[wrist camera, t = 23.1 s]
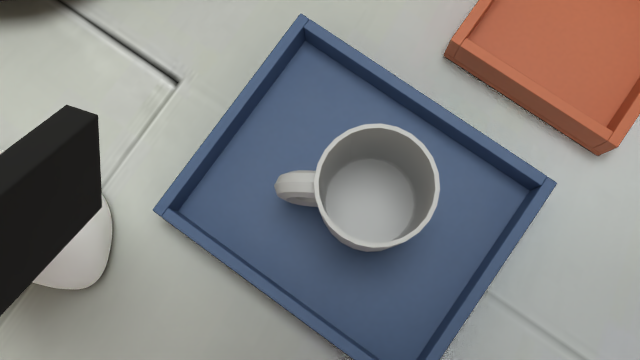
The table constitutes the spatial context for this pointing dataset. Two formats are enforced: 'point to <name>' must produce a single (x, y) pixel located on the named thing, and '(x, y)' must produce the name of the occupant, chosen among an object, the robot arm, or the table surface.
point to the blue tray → (307, 223)
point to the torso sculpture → (81, 255)
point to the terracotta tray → (559, 62)
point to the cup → (369, 187)
